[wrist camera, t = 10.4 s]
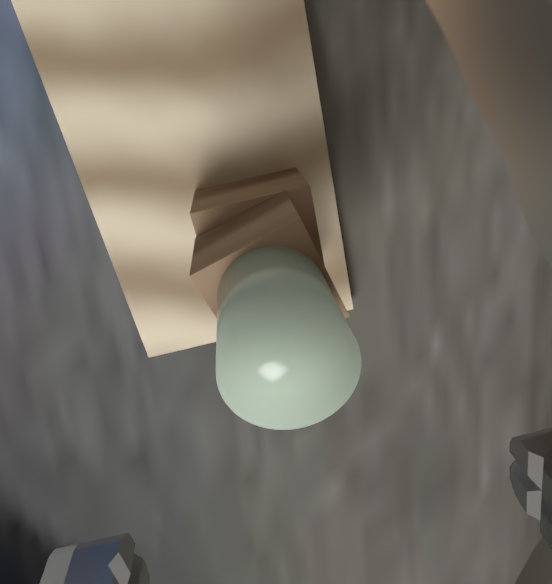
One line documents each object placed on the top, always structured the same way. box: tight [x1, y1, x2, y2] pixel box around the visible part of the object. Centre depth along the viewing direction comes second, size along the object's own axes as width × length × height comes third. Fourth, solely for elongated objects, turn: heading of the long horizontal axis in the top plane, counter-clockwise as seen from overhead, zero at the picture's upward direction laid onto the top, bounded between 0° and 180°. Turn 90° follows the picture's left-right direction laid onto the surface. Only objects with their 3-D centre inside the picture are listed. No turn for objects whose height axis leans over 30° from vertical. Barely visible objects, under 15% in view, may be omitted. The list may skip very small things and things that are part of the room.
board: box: [11, 0, 353, 357], centre depth 28 cm, size 22×14×1 cm, turn 12°
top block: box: [189, 190, 350, 319], centre depth 22 cm, size 5×5×5 cm
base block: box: [190, 167, 325, 266], centre depth 27 cm, size 6×6×5 cm
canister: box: [216, 246, 361, 430], centre depth 18 cm, size 5×5×6 cm
